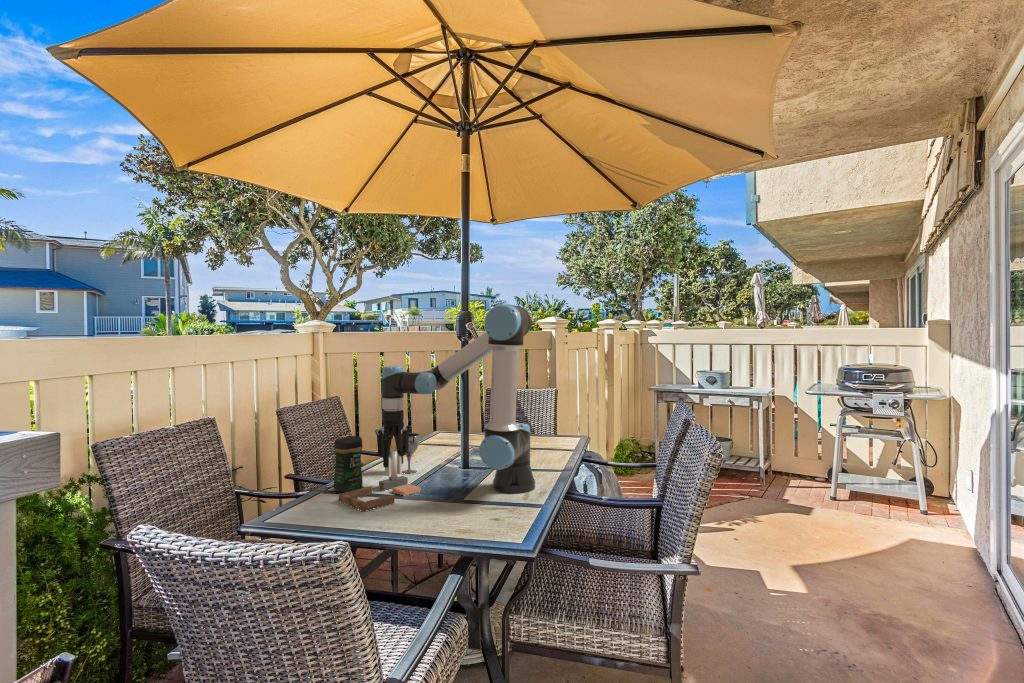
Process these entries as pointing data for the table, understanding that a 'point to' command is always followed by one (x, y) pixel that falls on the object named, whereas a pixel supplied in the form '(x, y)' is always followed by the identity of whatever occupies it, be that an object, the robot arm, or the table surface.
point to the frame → (352, 500)
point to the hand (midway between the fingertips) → (393, 474)
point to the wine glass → (411, 450)
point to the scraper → (393, 475)
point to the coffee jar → (348, 464)
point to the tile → (406, 489)
